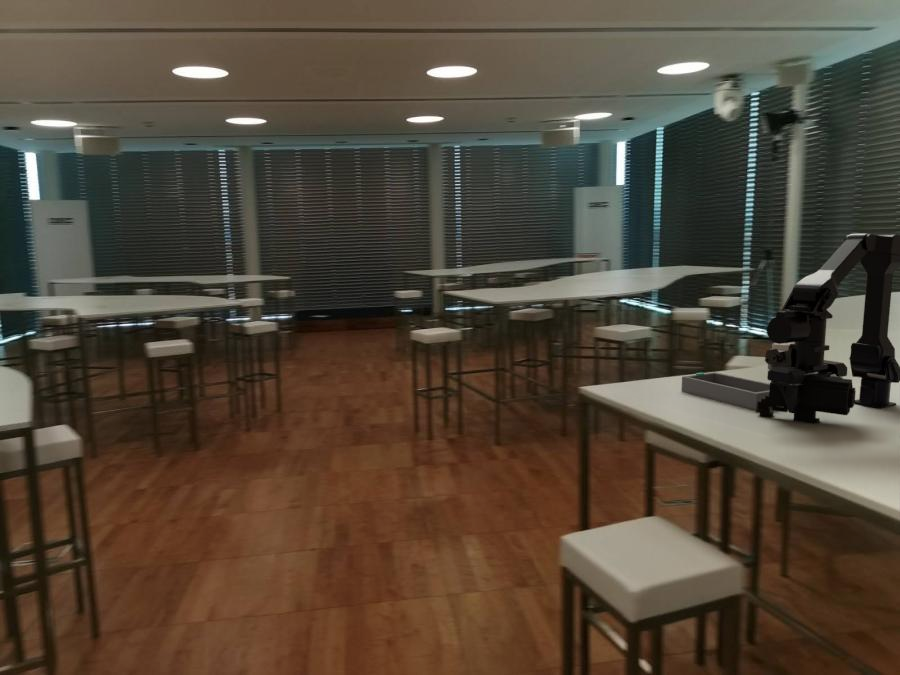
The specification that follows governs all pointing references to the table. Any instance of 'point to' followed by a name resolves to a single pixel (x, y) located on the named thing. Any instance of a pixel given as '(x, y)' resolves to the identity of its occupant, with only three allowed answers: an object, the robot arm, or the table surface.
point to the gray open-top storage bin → (726, 388)
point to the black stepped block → (812, 399)
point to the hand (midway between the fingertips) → (805, 410)
